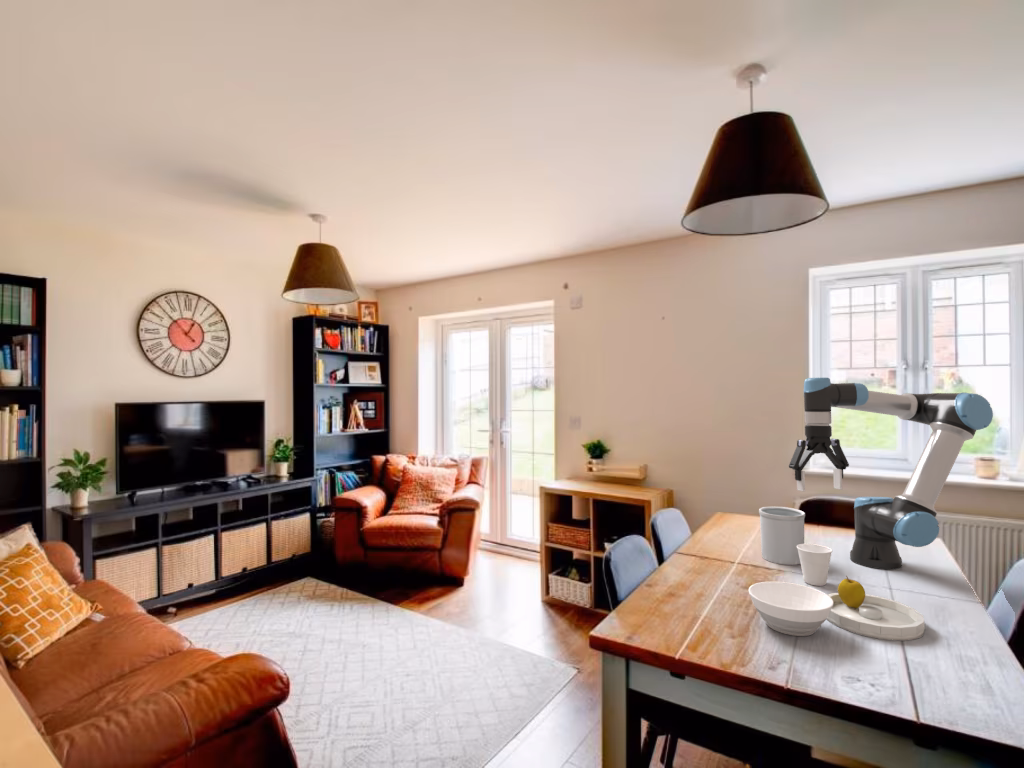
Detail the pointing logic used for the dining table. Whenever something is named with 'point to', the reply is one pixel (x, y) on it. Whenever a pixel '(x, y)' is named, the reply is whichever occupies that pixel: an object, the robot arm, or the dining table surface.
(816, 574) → the cup
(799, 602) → the bowl
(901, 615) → the ring tray
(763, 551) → the utensil holder
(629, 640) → the dining table surface
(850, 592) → the apple
